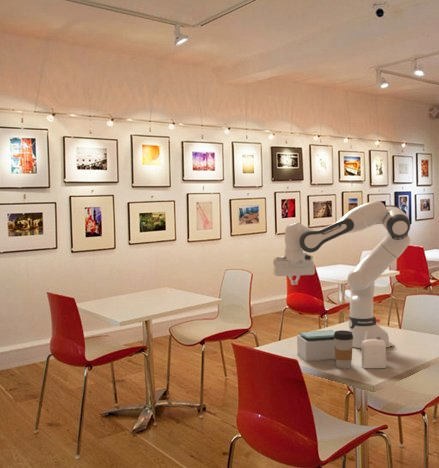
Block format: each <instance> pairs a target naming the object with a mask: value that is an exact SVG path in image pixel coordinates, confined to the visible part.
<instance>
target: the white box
mask: <svg viewBox="0 0 439 468" xmlns="http://www.w3.org/2000/svg"><path fill="white" fill-rule="evenodd" d="M296 336H297V339H296V340H297V341H296V342H297V343H296V344H297V346H296V347H297V356H299V357H300V358H301V359H302V358H303V359H302V360H303V361H305V362H306V361H308V362H316V361H334V360H335V361H336V359H335V347H334V345H335V344H334V337H323V338H306V337H304V336H302V335H299V334H297V335H296Z"/></svg>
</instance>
